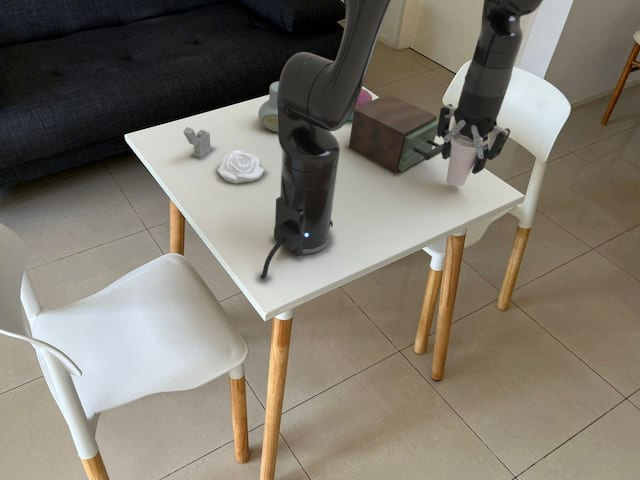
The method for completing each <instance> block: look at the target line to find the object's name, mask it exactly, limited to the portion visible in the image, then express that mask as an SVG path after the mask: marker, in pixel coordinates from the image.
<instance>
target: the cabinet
mask: <svg viewBox="0 0 640 480" xmlns="http://www.w3.org/2000/svg"><path fill="white" fill-rule="evenodd" d="M437 117H438V116H437V115H436V114H435V113H432V112H429V111H427V110H426V109H425V110H424V109H423V108H420V107H418V106H416V105H414V104H411V103H410V102H407V101H405V100H403V99H400V98H398V97H396V96H394V95H392V94H389V93H386V94H384V95H382V96H380V97H377V98H375V99H372V101H370V102H368V103H366V104H364V105H362V106H360V107H357V108H355V109H354V113H353V120H352V121H351V129H350V136H349V142H348V143H349V144H348V149H351V150H352V151H353V152H355V153H357V154H360V155H361V156H363V157H365V158H367V159H368V160H370V161H372V162H374V163H376V164H377V165H379V166H382V167H383V168H385V169H386V170H389V171H391V172H393V173H394V174H396V173H398V172H400V171H401V170H400V169H398V167H399V162H400V158H401V153H402V149H403V144H404V140H405V136H406V135H408V134H410V133H412V132H413V131H415V130H417V129H419V128H421V127H423V126H425V125H428V124H430V123H431V122H433V121H436V122H437V119H438V118H437Z"/></svg>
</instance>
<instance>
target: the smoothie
mask: <svg viewBox="0 0 640 480" xmlns="http://www.w3.org/2000/svg"><path fill="white" fill-rule="evenodd" d="M481 140H482V138H481ZM451 144H452V146H451V153H450V157H449V161H448V168H447V174H446V182H447V184H449V185H450V186H453V187H463V186H464V185H465V184H466V182H467V180H468V178H469V176H470V174H471V173H472V169H473V166H474V163H475V160H476V157H478V153H477V149H478V148H476V147H475V144H474V140H471V139H470V138H468V137H467V136H463V135H461V134H460V133H459V134H457V135H456V136H454V137H453V136H452V139H451Z"/></svg>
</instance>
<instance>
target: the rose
mask: <svg viewBox="0 0 640 480" xmlns="http://www.w3.org/2000/svg"><path fill="white" fill-rule="evenodd" d="M264 171H265V170H264V168H263V167H262V166H261V159H260V158H259V157H258V156H256V155H255V154H253V153H250V152H245V151H243V150H241V149H234V150H231V151H229V152H227V153H226V154H225V155H224V156H223V157H222V159H221V161H220V165H219V166H218V169H217V173H218V174H219V176H221V177H222V178H223V179H224V180H225V181H226V182H229V183H232V184H241V183H251V182H255V181H257V180H259V179H260V178H261V177H262V175H263V174H264Z"/></svg>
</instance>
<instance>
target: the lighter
mask: <svg viewBox="0 0 640 480" xmlns="http://www.w3.org/2000/svg"><path fill="white" fill-rule="evenodd" d="M182 133H183V135H184V136H185V138H186V140H187V142H188V144H190V145H193V153H194V157H195V158H199V159H202V158H203V157H204V156H205V155H207V154H208V153H209V152H211V150H212V148H211V146H212V145H211V132H210V131H206V130H205V129H200V130H198V131H197V132H195V130H194V129H193V128H191V127H188V126H186V127H185V128H184V130H183V132H182Z"/></svg>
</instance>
